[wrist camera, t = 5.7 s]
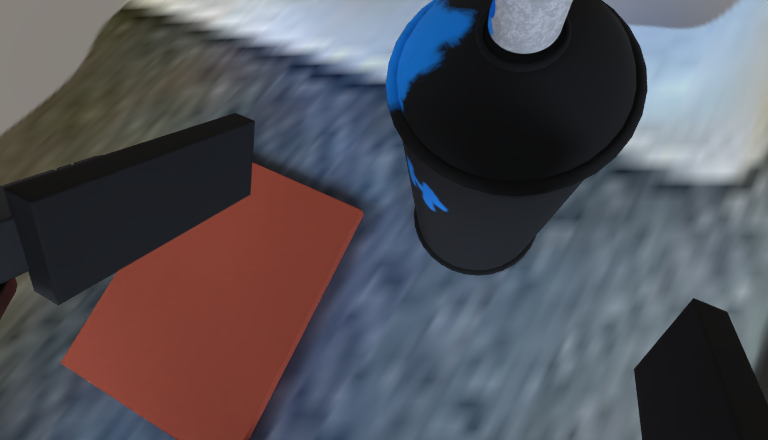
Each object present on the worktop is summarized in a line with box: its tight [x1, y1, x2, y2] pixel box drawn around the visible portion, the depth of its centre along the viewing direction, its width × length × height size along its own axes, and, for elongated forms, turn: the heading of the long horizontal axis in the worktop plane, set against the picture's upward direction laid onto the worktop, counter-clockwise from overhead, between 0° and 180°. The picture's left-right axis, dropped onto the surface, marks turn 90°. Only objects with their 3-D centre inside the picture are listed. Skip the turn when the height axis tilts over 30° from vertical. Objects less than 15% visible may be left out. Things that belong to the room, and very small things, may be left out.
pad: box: [61, 162, 364, 440], centre depth 29 cm, size 14×18×1 cm
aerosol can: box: [386, 0, 647, 275], centre depth 19 cm, size 8×8×20 cm
